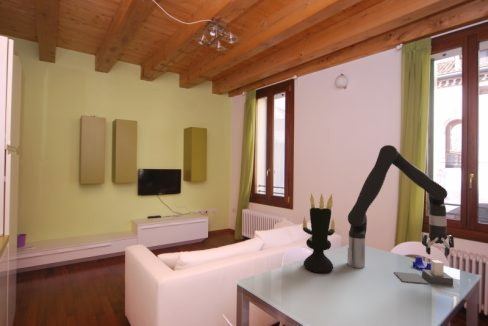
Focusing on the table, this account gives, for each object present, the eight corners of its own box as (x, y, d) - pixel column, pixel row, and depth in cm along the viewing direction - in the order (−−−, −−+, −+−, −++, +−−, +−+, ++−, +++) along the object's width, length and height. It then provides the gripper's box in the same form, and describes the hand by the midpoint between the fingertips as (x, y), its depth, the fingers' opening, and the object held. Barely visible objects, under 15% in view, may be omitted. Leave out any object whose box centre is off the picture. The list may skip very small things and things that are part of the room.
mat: (402, 282, 139) (402, 280, 139) (393, 272, 151) (393, 271, 151) (428, 284, 137) (428, 283, 137) (417, 274, 149) (417, 273, 149)
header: (431, 283, 138) (431, 276, 138) (421, 275, 148) (422, 269, 148) (453, 285, 136) (453, 278, 136) (442, 277, 146) (442, 270, 146)
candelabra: (333, 263, 163) (334, 189, 163) (340, 279, 141) (341, 193, 141) (301, 261, 166) (303, 188, 167) (303, 275, 145) (304, 192, 145)
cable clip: (412, 266, 162) (412, 256, 162) (420, 266, 162) (420, 256, 162) (426, 274, 150) (426, 263, 150) (434, 274, 150) (434, 263, 150)
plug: (434, 281, 140) (435, 262, 140) (430, 278, 144) (431, 259, 144) (443, 282, 140) (443, 263, 140) (439, 279, 144) (439, 260, 144)
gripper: (426, 224, 140) (426, 256, 139) (457, 226, 137) (457, 258, 137) (419, 221, 147) (419, 251, 147) (448, 223, 145) (448, 253, 144)
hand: (437, 254), depth 142 cm, fingers open, 8 cm apart
